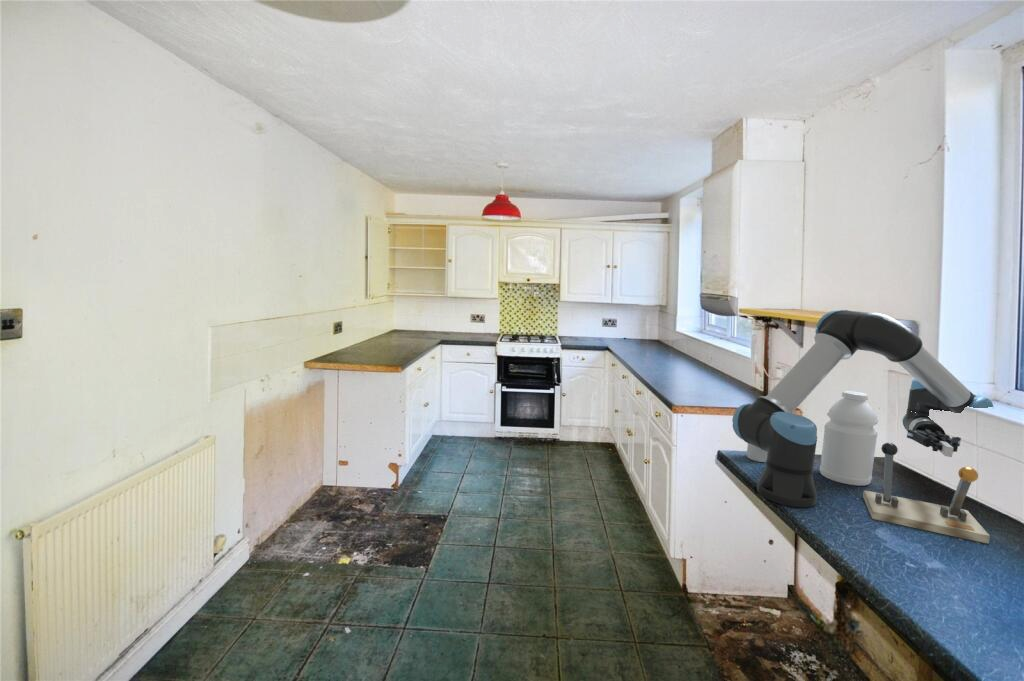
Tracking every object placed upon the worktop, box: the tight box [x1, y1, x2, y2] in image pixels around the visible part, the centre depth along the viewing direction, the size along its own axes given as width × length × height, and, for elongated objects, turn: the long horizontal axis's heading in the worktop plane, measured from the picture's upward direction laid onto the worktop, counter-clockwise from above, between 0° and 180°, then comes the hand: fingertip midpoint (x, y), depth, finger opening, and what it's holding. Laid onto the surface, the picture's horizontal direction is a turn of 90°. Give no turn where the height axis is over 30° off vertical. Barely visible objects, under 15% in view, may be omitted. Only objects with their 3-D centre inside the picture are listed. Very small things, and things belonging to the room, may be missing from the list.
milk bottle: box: [746, 443, 767, 463], centre depth 170 cm, size 8×8×20 cm
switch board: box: [862, 489, 991, 544], centre depth 130 cm, size 23×16×4 cm
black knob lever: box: [880, 442, 899, 503], centre depth 135 cm, size 4×4×16 cm
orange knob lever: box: [948, 466, 979, 516], centre depth 123 cm, size 4×4×16 cm
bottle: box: [819, 390, 879, 486], centre depth 155 cm, size 14×14×28 cm
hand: (949, 451), depth 135 cm, fingers closed
